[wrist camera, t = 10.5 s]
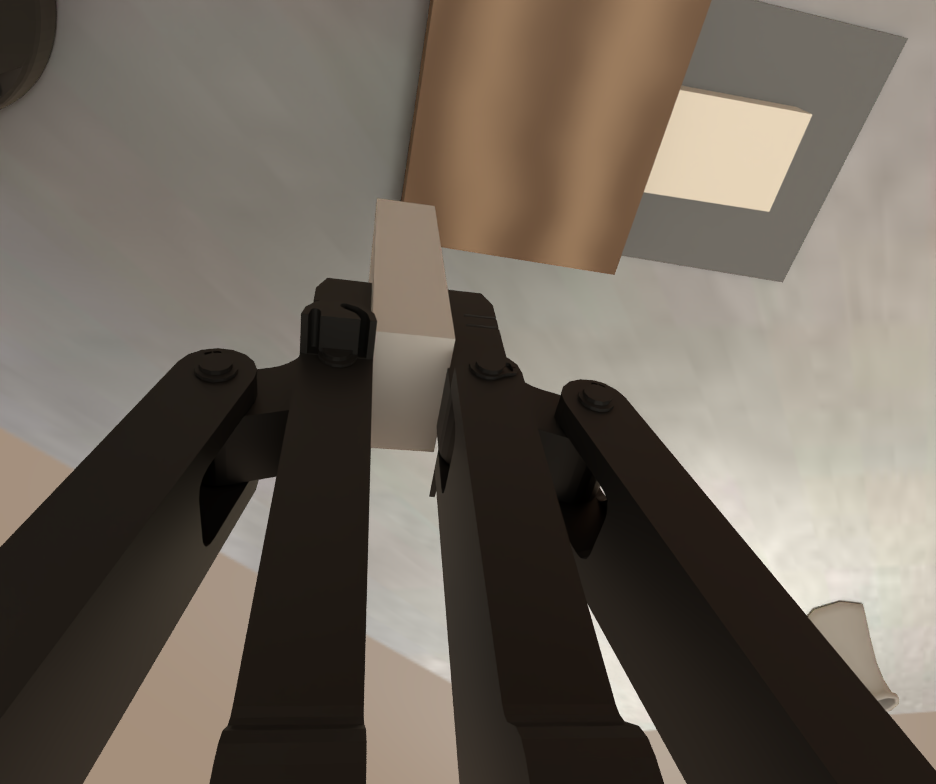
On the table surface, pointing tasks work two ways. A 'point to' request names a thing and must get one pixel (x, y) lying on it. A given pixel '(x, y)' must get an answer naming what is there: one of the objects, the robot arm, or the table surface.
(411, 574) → the table surface
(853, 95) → the mat
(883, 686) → the flask
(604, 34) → the deck
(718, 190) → the tile
